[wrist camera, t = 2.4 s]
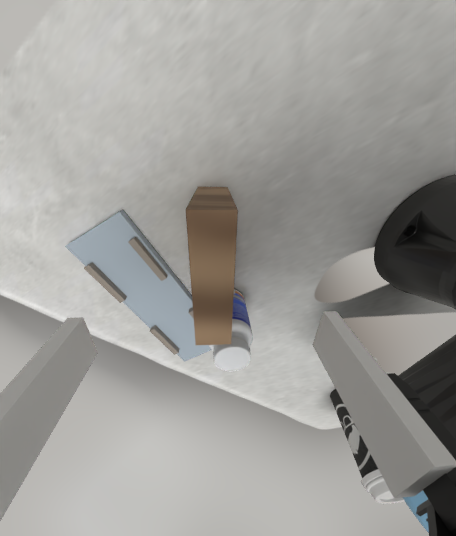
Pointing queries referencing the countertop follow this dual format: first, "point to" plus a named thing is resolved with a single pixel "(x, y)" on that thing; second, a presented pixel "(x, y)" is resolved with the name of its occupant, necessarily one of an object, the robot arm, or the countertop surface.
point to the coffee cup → (363, 456)
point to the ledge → (140, 281)
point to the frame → (212, 263)
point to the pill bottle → (235, 339)
